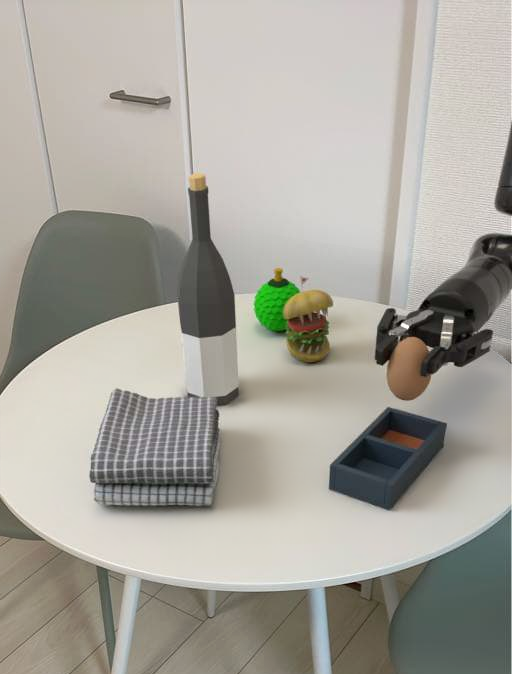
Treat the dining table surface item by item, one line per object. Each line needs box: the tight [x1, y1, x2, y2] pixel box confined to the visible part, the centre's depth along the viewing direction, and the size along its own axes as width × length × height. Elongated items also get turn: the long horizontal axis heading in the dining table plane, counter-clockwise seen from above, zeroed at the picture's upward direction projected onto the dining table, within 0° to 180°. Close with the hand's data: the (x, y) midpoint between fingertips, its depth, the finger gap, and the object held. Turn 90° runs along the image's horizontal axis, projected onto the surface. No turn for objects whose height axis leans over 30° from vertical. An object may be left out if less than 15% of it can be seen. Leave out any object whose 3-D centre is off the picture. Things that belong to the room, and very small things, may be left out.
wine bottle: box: [176, 172, 240, 407], centre depth 101 cm, size 8×8×30 cm
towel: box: [88, 388, 222, 507], centre depth 94 cm, size 15×18×8 cm
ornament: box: [253, 267, 301, 332], centre depth 123 cm, size 8×8×10 cm
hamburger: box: [283, 275, 334, 363], centre depth 114 cm, size 8×7×12 cm
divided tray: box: [328, 406, 448, 511], centre depth 93 cm, size 8×15×4 cm, turn 144°
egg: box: [386, 337, 432, 402], centre depth 89 cm, size 5×5×8 cm
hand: (401, 363), depth 86 cm, fingers closed on egg, 5 cm apart
